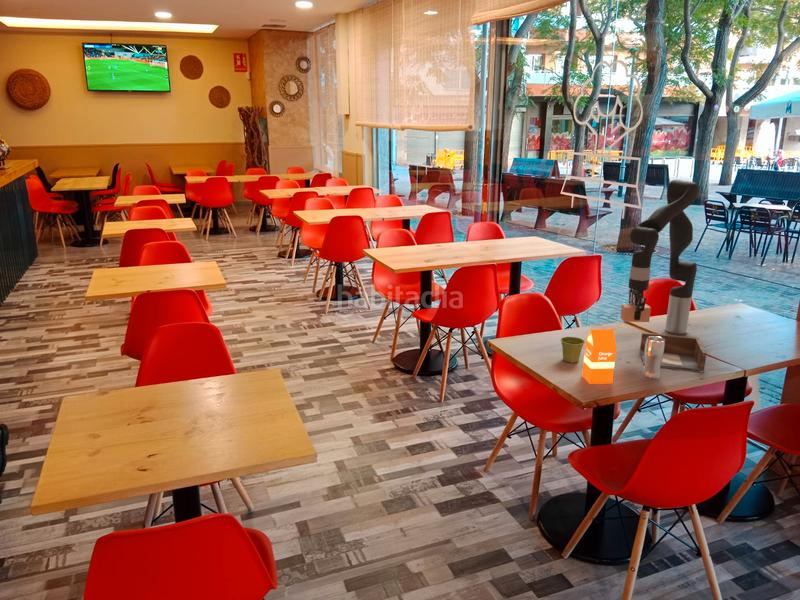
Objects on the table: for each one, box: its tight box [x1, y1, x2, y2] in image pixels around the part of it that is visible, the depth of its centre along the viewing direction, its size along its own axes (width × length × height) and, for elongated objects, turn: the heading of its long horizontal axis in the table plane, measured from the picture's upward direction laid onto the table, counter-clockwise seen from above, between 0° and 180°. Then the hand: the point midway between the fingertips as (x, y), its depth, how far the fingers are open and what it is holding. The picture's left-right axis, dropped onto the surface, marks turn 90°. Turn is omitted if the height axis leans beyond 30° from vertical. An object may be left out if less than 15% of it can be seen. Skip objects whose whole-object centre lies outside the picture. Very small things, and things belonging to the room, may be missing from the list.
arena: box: [639, 331, 707, 373], centre depth 249 cm, size 18×22×8 cm
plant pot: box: [560, 336, 586, 364], centre depth 249 cm, size 9×9×9 cm
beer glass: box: [642, 336, 665, 380], centre depth 233 cm, size 7×7×15 cm
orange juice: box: [581, 328, 617, 385], centre depth 229 cm, size 8×9×20 cm
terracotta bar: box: [619, 303, 652, 323], centre depth 249 cm, size 10×5×6 cm, turn 87°
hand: (634, 317), depth 250 cm, fingers closed on terracotta bar, 5 cm apart
